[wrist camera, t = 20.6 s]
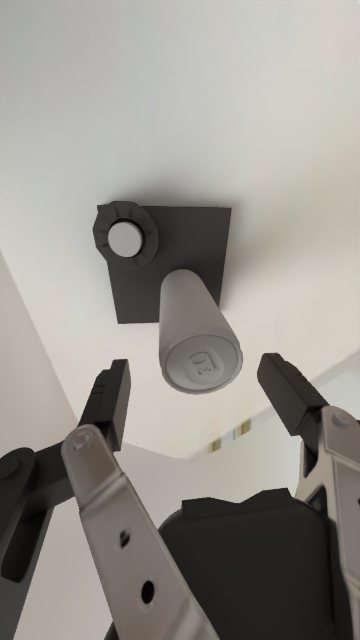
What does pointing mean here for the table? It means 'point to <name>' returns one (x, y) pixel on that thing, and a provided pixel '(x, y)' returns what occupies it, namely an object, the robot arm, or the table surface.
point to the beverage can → (195, 337)
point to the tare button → (125, 239)
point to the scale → (161, 253)
